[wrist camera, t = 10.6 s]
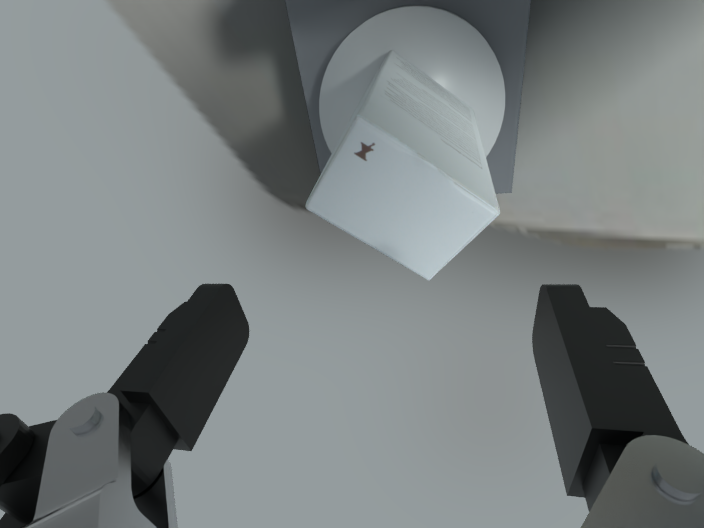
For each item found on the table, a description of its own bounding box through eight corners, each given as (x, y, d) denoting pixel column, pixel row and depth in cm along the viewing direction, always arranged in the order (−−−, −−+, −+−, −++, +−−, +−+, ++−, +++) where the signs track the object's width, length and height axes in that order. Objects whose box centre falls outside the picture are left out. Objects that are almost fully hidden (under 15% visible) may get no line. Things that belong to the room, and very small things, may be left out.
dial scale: (534, -156, 19) (593, -231, 12) (505, 174, 29) (527, 241, 22) (282, -97, 22) (208, -128, 15) (334, 184, 32) (305, 247, 24)
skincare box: (352, 113, 24) (297, 207, 15) (391, 47, 21) (355, 108, 12) (431, 167, 25) (428, 286, 16) (477, 110, 23) (507, 211, 13)
